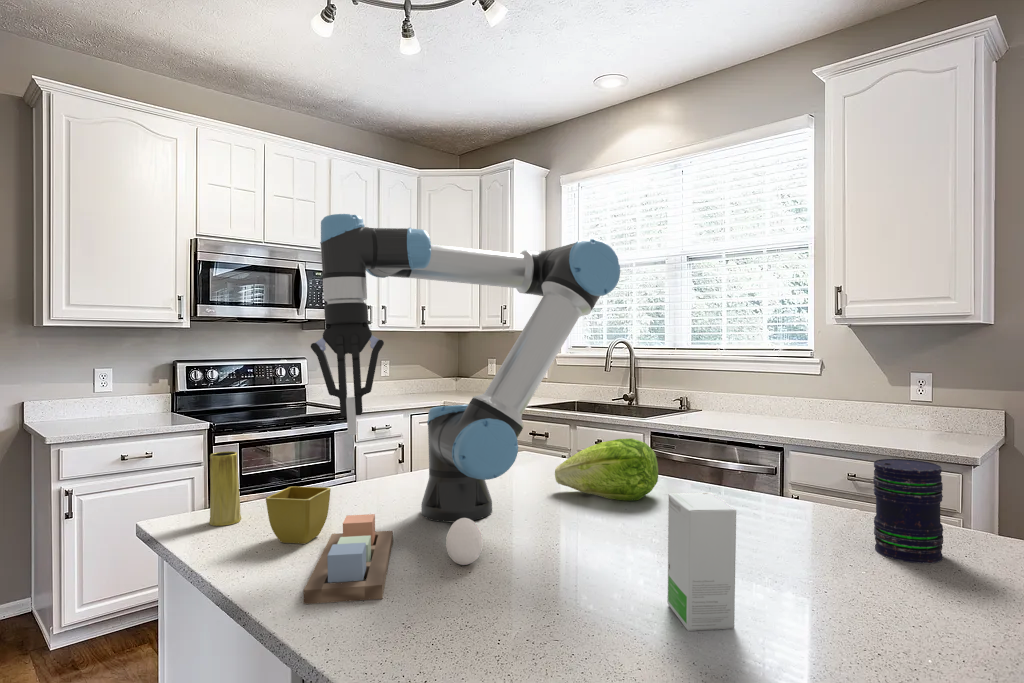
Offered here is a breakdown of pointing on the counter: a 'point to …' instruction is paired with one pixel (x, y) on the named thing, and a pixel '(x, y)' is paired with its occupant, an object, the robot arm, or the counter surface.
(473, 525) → the egg
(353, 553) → the key slate
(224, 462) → the vase
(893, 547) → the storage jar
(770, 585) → the counter surface
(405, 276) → the robot arm
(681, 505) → the skincare box
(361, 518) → the key rust
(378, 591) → the board
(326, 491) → the flower pot
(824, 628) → the counter surface
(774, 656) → the counter surface
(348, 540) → the key sage
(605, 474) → the lettuce
